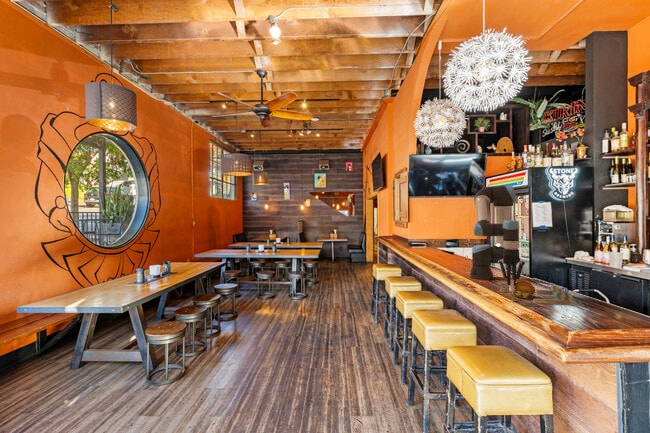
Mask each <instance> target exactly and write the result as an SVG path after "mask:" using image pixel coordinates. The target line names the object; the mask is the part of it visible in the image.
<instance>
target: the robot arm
mask: <svg viewBox="0 0 650 433" xmlns="http://www.w3.org/2000/svg"><path fill="white" fill-rule="evenodd" d="M516 202H517V194H516V190H515V187H514V186H513V185H494V186H493V185H492V186H486V187H483V188H481V189H479V190H478V191H477V192H476V194H475V196H474V198H473V203H474V205H475V213H476V216H475V218H476V223H473V235H474V236H475V237H495V239H496V240H495V241H496V242H495V243H493V246H491V244H478V245H474V246H472V248H471V257H472V258H471V265H472V266H471V270H470V272H469V278H471V279H475V280H483V281H485V280H486V281H487V280H494V279H495V278H494V273H493V270H492V267H491V264H498V265H500V269H501V273H502V277H503V278H504V279H506V280H507V283H506V284H507V286H508V287H509V288H508V289H509V291H511V292H514V287H515V285H516V283H517V280H519V279H520V278H521V273H522V271H523V267H524V265H525V264H526V262H525V261H523V260H521V258H520V223H519V220H511V219H512V218H511V217H512V216H511V213H512V212H511V211H512V207H514V204H516ZM489 204H493V207H494V208H495V223H491V216H490V215H491V214H490V206H489ZM517 264H518V268H517ZM505 265H506V269H505Z"/></svg>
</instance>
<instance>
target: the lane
mask: <svg viewBox="0 0 650 433" xmlns="http://www.w3.org/2000/svg"><path fill="white" fill-rule="evenodd" d="M510 292H511V291H509V288H504V287H502V288H500V293H510ZM535 294H537V295H552V296H554V297H556V298H558V299H554V298H553V299H552V298H551V299H550V298H532V300H533V303H536V304H547V305H549V304H551V305H565V306H566V305H568V306H573V294H572V293H570V292H567V291H565V290H563V289H561V288H559V287H557V286H556V285H554V284H550V290H548V289H535ZM512 301H518V302H517V303H519V302H520V298H518V297H511V302H512Z"/></svg>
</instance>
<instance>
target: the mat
mask: <svg viewBox="0 0 650 433" xmlns="http://www.w3.org/2000/svg"><path fill="white" fill-rule="evenodd" d="M522 302H523V303H524V304H525V305H526V306H525V307H534V308H535V307H536V308H539V307H540V305H538V303H534V302H524V301H522Z"/></svg>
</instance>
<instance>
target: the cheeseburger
mask: <svg viewBox="0 0 650 433" xmlns="http://www.w3.org/2000/svg"><path fill="white" fill-rule="evenodd" d="M534 292H535V293H536V289H535V286H533V284H532V283H531V282H530V281H528V280H525V279H524V280H519V281H516V285H515V286H514V292H513V293H512V295H513V296H514V297H515V298H518V297H519V299H527V300H528V299H534V298H533V297H535V293H534Z"/></svg>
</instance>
